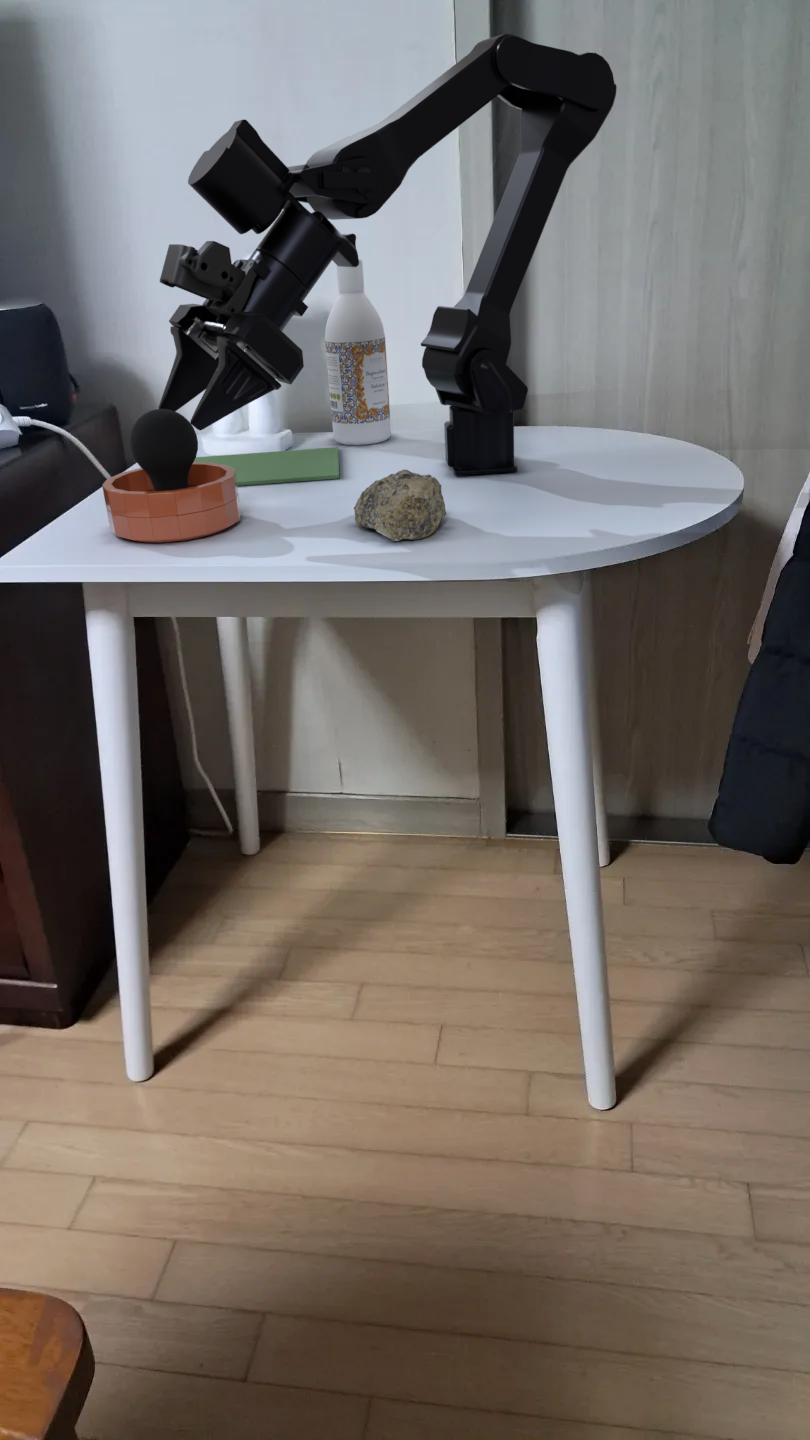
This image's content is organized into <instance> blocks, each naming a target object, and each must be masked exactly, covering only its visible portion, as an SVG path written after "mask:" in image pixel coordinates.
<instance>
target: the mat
mask: <svg viewBox="0 0 810 1440" xmlns="http://www.w3.org/2000/svg"><path fill="white" fill-rule="evenodd" d="M339 461H340V460H339V447H338V446H332V447H320V448H318V447H317V448H306V449H293V450H292V449H290V450H280V451H279V450H277V451H265V452H252V453H251V452H249V453H238V454H237V453H236V454H224V455H221V454H220V455H210V456H196V458H195V460H194V462H207V463H217V464H223V465H228V466H229V467H231V468H233V469H235V471H236V478H237V486H238V487H242V486H253V485H255V486H257V485H269V484H283V483H294V482H295V483H296V482H309V481H324V480H339V479H340V462H339Z"/></svg>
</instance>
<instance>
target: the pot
mask: <svg viewBox="0 0 810 1440" xmlns="http://www.w3.org/2000/svg"><path fill="white" fill-rule="evenodd" d="M101 485H102V486H101V487H102V492H103V499H104V504H105V508H106V514H107V519H108V524H109V525H108V526H109V530H110V531H111V532H112V533H113V534H114V535H115V537H119V538H123V539H126V540H130V541H133V542H140V543H154V544H156V543H159V544H160V543H173V542H176V543H177V542H183V541H190V540H194V539H195V540H196V539H199V538H204V537H209V536H211V535H214V534H217V533H219V532H222V531H224V530H226V529H227V528H229V527H232V526H233V525H234V524H236V523H238V522H239V521H240V519H241V515H242V510H241V503H240V502H241V501H240V494H239V488H238V487H239V486H237V478H236V471H235V469H233V468H231V467H229V466H228V465H223V464H217V463H207V462H193V464H192V466H191V468H190V471H189V476H188V488H184V489H178V490H169V491H155V490H154V487H153V485H152V482H151V480H150V478H149V476H148V475H147V473H146V472H145V471H144V470H143V469H142V468H141V467H139V468H134V469H131V470H128V471H123V472H120V473H118V474H115V475H113V476H111V477H109V478H107V479H106V480H105V481H104V482H103V483H102V484H101Z"/></svg>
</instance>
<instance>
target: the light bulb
mask: <svg viewBox="0 0 810 1440" xmlns="http://www.w3.org/2000/svg"><path fill="white" fill-rule="evenodd" d="M197 435H198V434H197V433H196V431H195V427H194V426H193V425H192V424H191V423H190V421H189V420H188V419H187V418H186V417H185V416H184V415H183V414H181V413H179V412H178V411H172V410H168V409H159V408H155V409H152V410H149V411H147V412H145V413H143V414H142V415H141V416H140V417H138V418H137V420H135V422H134V425H133V426H132V428H131V430H130V434H129V447H130V451H131V454H132V457H133V459H134V461H135V462H136V463H137V465H138V466H139V468H142V469H143V470H144V471H145V472H146V473H147V475H148V476H149V478H150V480H151V482H152V485H153V487H154V490H155V491H169V490H178V489H184V488H188V476H189V471H190V468H191V466H192V464H193V462H194V460H195V458H196V457H197V455H198V450H199V440H198V436H197Z"/></svg>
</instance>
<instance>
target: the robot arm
mask: <svg viewBox="0 0 810 1440" xmlns="http://www.w3.org/2000/svg"><path fill="white" fill-rule="evenodd" d="M616 96H617V84H616V83H615V78H614V73H613V71H612V68H611V66H610V64H609V62H608V61H607V60H606V59H605V58H604V57H603V56H602V55H600V54H599V53H597V52H589V51H588V52H584V53H580V54H577V53H575V52H573V51H570V50H566V49H561V48H557V47H554V46H553V47H552V46H549V45H544V44H539V43H535V42H531V41H529V40H527V39H525V38H522V37H520V36H517V35H515V34H513V33H503V34H500V35H497V36H493V37H489V38H485V39H482V40H481V41H479V42H477V43H476V44H475V45H474V46H473V48H472V50H471V51H470V52H469V53H468V54H467V55H465V56H464V57H462V58H461V59H460V60H459V61H457V62H456V63H455V64H454V65H452V66H451V67H450V68H448V69H447V70H445V72H444V73H442V74H441V75H440V76H438V77H437V78H436V79H435V80H433V81H432V82H430V83H429V84H428V85H427V86H425V87H424V88H423V89H421V90H420V91H419V92H418V93H416V94H415V95H414V96H412V97H411V98H410V99H409V100H407V101H406V102H405V103H403V104H402V105H401V106H400V107H399V108H397V109H396V110H394V111H393V112H392V113H390V114H389V115H388V116H386V117H385V118H384V119H383V120H382V121H379V122H378V123H376V124H374V125H372V126H369V127H368V128H365V129H363V130H360V131H357V132H356V133H353V134H351V135H348V136H346V137H343V138H342V139H339V140H337V141H335V142H334V143H333V142H332V143H331V144H329V145H327V146H325V147H323V148H321V149H319V150H317V151H316V152H314V153H313V154H312V155H311V156H310V157H308V159H307V160H306V163H304V164H298V165H291V166H287V165H285V163H284V162H283V161H282V160H281V159H280V158H279V157H278V156H277V155H276V154H275V152H274V151H273V150H272V149H271V148H270V147H269V146H268V145H267V144H266V143H265V141H263V139H262V138H261V136H260V135H259V133H258V131H257V130H256V129H255V128H254V126H253V125H251V123H250V122H249V121H248V120H247V119H240V120H236V121H234V122H233V124H232V125H231V126H230V128H229V129H228V130H227V131H226V132H225V133H223V135H222V136H220V137H219V138H218V139H217V140H216V142H215V143H214V144H213V145H212V146H211V147H210V148H209V150H204V152H203V153H202V154H201V155H200V157H199V158H198V160H197V161H196V163H195V164H194V166H193V168H192V169H191V170H190V174H189V176H188V178H187V179H188V180H187V184H188V185H189V186H190V187H191V188H192V189H193V190H194V191H195V192H196V193H197V194H198V195H199V196H200V197H201V198H202V199H203V200H204V201H205V202H206V203H207V204H208V205H209V206H210V207H211V208H212V209H213V210H214V211H215V212H216V213H217V214H219V216H220V217H222V218H223V219H224V220H225V221H226V223H228V225H230V227H232V229H234V230H235V231H236V232H237V233H238V234H239V235H244V234H247V233H248V232H250V231H253V232H254V234H256V235H261V234H262V233H264V232H265V231H266V230H267V232H266V234H265V235H264V237H263V238H262V240H261V241H260V242H259V244H258V245H257V247H256V248H255V249H254V251H253V252H252V254H251V255H250V256H249V258H248V259H241V258H240V259H236V260H234V262H233V263H232V255H231V250H230V246H226V245H224V244H223V243H220V242H218V241H215V240H206V241H205V242H204V243H203V244H202V245H201V247H199V249H196V248H195V247H193V246H190V245H189V246H188V245H185V244H179V243H177V244H175V243H173V244H172V243H170V244H169V245H168V248H167V251H166V255H165V259H164V262H163V266H162V270H161V273H160V278H159V283H161V284H162V285H165V286H166V287H169V288H175V287H176V288H178V289H180V290H183V291H185V292H188V293H190V294H193V295H195V296H198V297H200V298H203V299H204V301H203V302H202V304H197V303H187V304H179V306H178V307H177V308H176V310H175V312H174V313H173V314H172V315H171V317H170V318H169V320H168V322H169V324H170V325H171V326H170V334H171V335H172V337H173V342H174V347H175V356H174V360H173V364H172V367H171V371H170V373H169V375H168V379H167V381H166V383H165V387H164V390H163V392H162V396H161V398H160V400H159V401H160V402H159V404H158V407H157V409H168V410H172V411H175V412H178V410H180V409H181V408H182V407H184V406H185V405H187V404H188V403H189V402H191V401H192V400H193V399H195V398H196V397H197V396H198V395H200V394H201V393H203V394H202V396H201V398H200V400H199V402H198V404H197V406H196V408H195V410H194V412H193V415H192V416H191V419H190V421H189V422H190V423H191V425H192V426H193V428H194V429H196V430H198V431H203V430H205V429H206V428H209V427H210V426H212V425H213V424H216V423H217V422H218V421H220V420H222V419H224V418H225V417H227V416H229V415H231V414H232V413H234V412H236V411H238V410H239V409H241V408H243V407H245V406H247V405H248V404H250V403H252V402H255V401H256V400H258V399H260V398H261V397H264V396H266V395H267V394H269V393H271V392H273V391H279V390H280V389H281V388H282V384H281V383H283V384H286V385H287V384H288V385H290V386H291V385H292V384H293V383H294V381H295V380H296V378H297V377H298V376H299V374H300V372H301V371H302V370H303V369H304V367H305V365H304V353H303V349H302V348H300V347H299V346H298V345H297V344H296V343H295V342H294V341H293V340H292V339H291V338H290V337H289V336H288V335H287V334H285V333H284V332H283V331H284V329H285V327H286V326H287V325H288V324H289V322H290V321H291V319H292V318H293V317H294V316H295V317H303V315H305V312H307V310H308V309H309V306H308V305H307V304H306V303H305V302H304V301H305V299H306V298H307V296H308V295H309V294H310V293H311V291H312V289H313V288H314V286H315V285H316V284H317V282H318V281H319V279H320V278H321V277H322V275H323V273H325V271H326V269H327V268H328V267H329V265H330V264H331V262H333V263H334V264H335V266H336V267H337V266H340V267H357V266H358V265H359V258H360V257H359V253H358V250H357V244H356V243H357V236H356V234H355V233H341V232H340V230H339V229H338V228H336V227H335V225H334V224H333V223H332V222H331V221H330V220H333V221H335V220H336V221H337V220H356V219H357V220H358V219H366V218H369V217H370V216H373V215H375V214H376V213H378V211H379V210H381V208H382V207H383V206H384V205H385V204H386V202H387V201H388V200H389V199H390V198H391V197H392V195H393V194H394V193H395V192H396V191H397V190H398V189H399V188H400V186H401V185H402V183H403V181H404V179H405V178H406V176H407V174H408V172H409V170H410V169H411V167H412V166H413V165H414V164H415V163H416V162H417V161H418V159H419V158H420V157H422V156H423V155H424V154H426V153H427V152H428V151H429V150H430V149H432V148H434V147H435V145H437V144H438V143H440V142H441V141H442V140H444V138H446V137H447V136H449V135H450V134H451V133H452V132H454V131H455V130H456V129H457V128H459V127H460V126H461V125H462V124H464V123H465V122H466V121H468V120H469V119H470V118H471V117H473V116H474V115H475V114H476V113H478V112H479V111H481V109H483V108H484V107H485V106H486V105H488V104H489V103H490V102H491V101H493V100H494V99H495V98H499V99H500V100H501V101H503V102H504V103H505V104H507V105H508V106H510V107H513V108H514V109H518V110H520V114H519V133H520V151H519V154H518V156H517V159H516V161H515V165H514V167H513V170H512V172H511V174H510V176H509V180H508V182H507V185H506V186H505V189H504V193H503V194H502V197H501V201H500V202H499V205H498V208H497V210H496V213H495V215H494V218H493V221H492V224H491V226H490V228H489V230H488V233H487V236H486V239H485V241H484V244H483V246H482V248H481V251H480V254H479V257H478V258H477V262H476V264H475V267H474V270H473V272H472V275H471V277H470V280H469V282H468V284H467V286H466V290H465V291H464V294H463V296H462V297H461V298H460V299H459V300H458V302H456V304H455V305H454V306H444V305H438V306H437V307H436V309H435V310H434V313H433V315H432V320H431V324H430V327H429V331H428V332H427V334H426V337H425V338H424V339H423V340H422V341H421V342H420V346H421V347H424V351H423V355H422V359H421V367H422V369H423V371H424V374H425V375H424V376H425V378H426V380H427V381H428V383H429V384H430V385H431V386H432V387H433V388H434V389H435V393H436V394H437V397H438V400H439V403H440V404H441V405H443V406H449V407H448V412H449V415H448V416H449V421H445V422H444V423H443V426H444V429H443V431H444V451H445V453H444V454H445V462H446V465H447V466H448V467H449V468H450V469H451V470H452V472H453V475H454V476H470V475H471V476H472V475H483V474H497V473H508V472H509V473H511V472H518V469H519V467H518V464H517V463H516V461H515V417H514V416H515V411H518V410H519V411H521V410H523V409H524V406H525V402H526V399H527V398H526V397H527V394H528V391H529V387H528V386H527V385H526V384H525V383H524V382H523V381H522V379H520V377H519V376H518V375H517V374H516V373H515V372H514V371H513V370H512V369H511V368H510V366H509V365H508V361H509V357H510V353H511V349H512V328H511V314H512V309H513V307H514V305H515V301H516V299H517V296H518V294H519V293H520V290H521V287H522V284H523V282H524V279H525V277H526V274H527V272H528V269H529V267H530V264H531V262H532V259H533V257H534V254H535V251H536V250H537V247H538V244H539V242H540V240H541V236H542V234H543V232H544V229H545V228H546V227H545V226H546V224H547V222H548V219H549V217H550V214H551V212H552V209H553V207H554V204H555V201H556V199H557V196H558V194H559V192H560V190H561V187H562V184H563V182H564V180H565V177H566V174H567V172H568V170H569V167H570V166H571V165H572V164H573V163H574V162H575V160H576V159H577V158H578V157H579V156H580V155H581V154H582V153H583V152H584V151H585V149H587V148H588V146H589V145H590V144H592V142H594V140H595V138H596V137H597V135H598V133H599V132H600V130H601V128H602V126H603V125H604V123H605V121H606V119H607V118H608V116H609V114H610V113H611V111H612V109H613V106H614V104H615V100H616ZM302 203H305V204H308V205H309V206H310V208H311V210H313V212H310V211H309V210H308V209H307V208H306V207H305V206H304V205H303V204H302ZM268 228H269V230H268Z"/></svg>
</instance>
